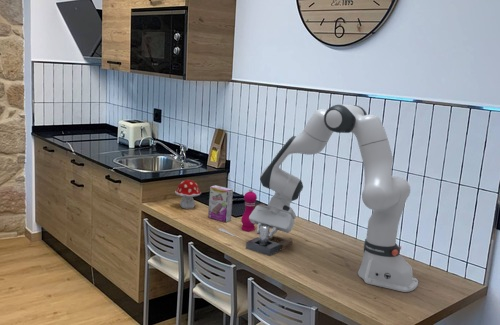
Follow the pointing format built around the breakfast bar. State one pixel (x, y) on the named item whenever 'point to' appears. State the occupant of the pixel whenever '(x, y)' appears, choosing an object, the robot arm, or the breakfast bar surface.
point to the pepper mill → (248, 210)
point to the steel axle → (264, 235)
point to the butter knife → (225, 231)
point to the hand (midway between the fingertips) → (263, 235)
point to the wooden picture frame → (281, 241)
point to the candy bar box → (220, 203)
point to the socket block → (263, 247)
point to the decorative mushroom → (187, 193)
